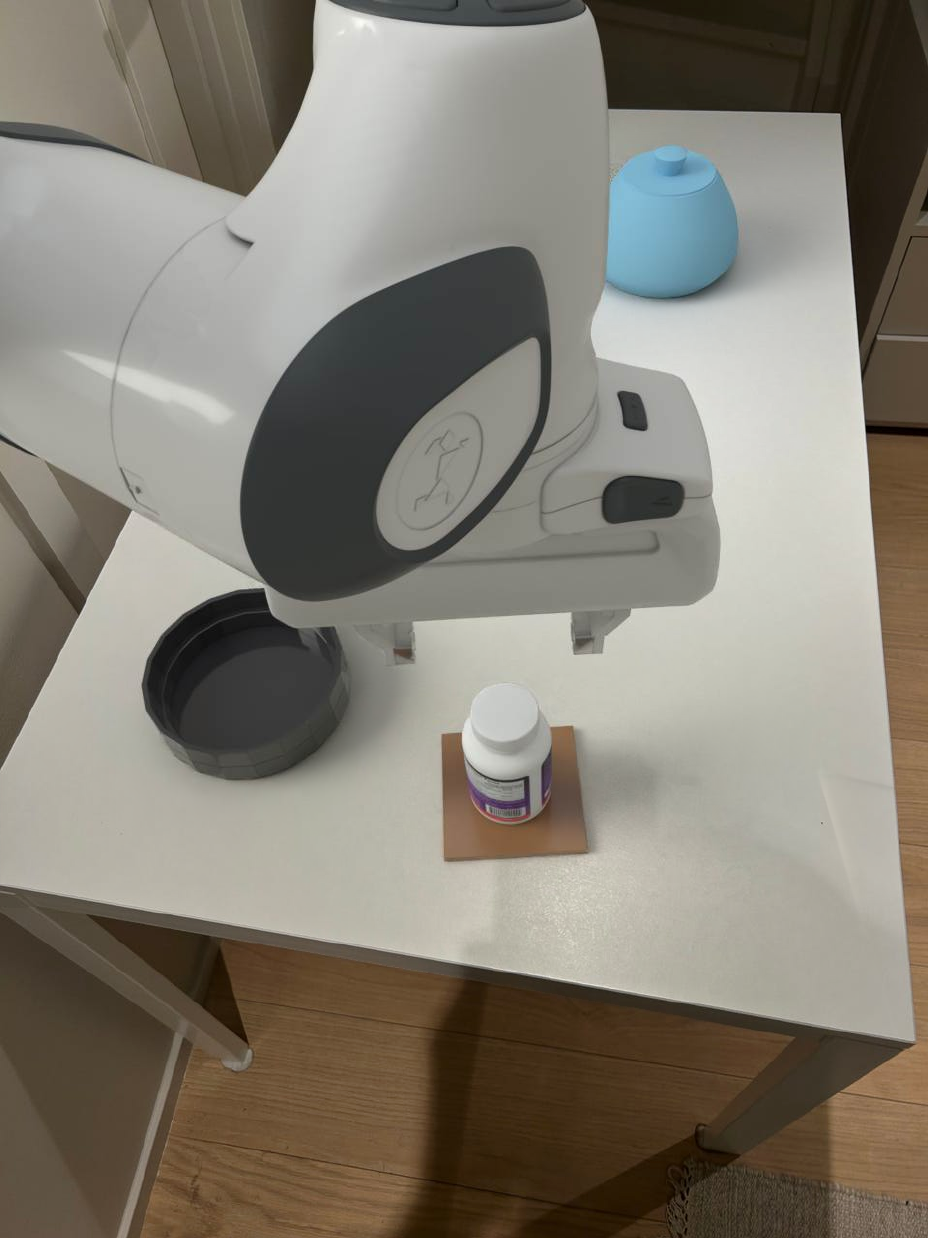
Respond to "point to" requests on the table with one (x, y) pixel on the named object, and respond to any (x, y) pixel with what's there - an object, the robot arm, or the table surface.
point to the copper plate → (538, 836)
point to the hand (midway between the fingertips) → (493, 649)
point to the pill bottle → (507, 754)
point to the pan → (244, 687)
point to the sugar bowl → (669, 224)
